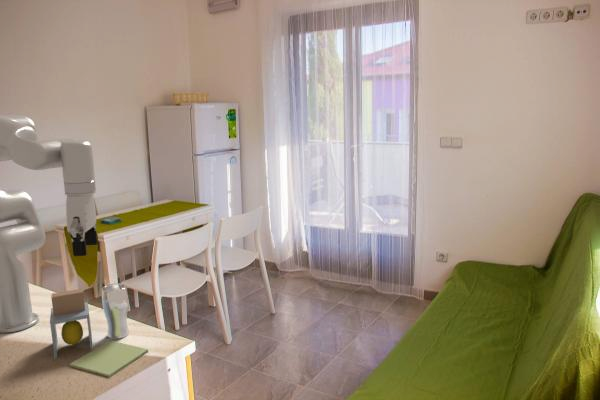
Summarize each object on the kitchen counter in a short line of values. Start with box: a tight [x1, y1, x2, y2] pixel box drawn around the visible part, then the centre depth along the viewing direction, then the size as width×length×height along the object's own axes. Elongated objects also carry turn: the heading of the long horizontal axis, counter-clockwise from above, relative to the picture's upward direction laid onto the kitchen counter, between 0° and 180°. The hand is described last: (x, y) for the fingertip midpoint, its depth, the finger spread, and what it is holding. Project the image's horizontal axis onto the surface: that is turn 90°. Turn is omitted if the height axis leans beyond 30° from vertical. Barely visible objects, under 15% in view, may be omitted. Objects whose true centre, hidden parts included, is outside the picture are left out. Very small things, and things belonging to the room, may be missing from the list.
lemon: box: [61, 320, 84, 346], centre depth 138 cm, size 6×6×8 cm
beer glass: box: [101, 283, 130, 340], centre depth 143 cm, size 7×7×15 cm
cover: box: [49, 288, 94, 358], centre depth 137 cm, size 10×10×16 cm
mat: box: [69, 339, 149, 378], centre depth 131 cm, size 14×14×1 cm
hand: (86, 250), depth 131 cm, fingers open, 9 cm apart
